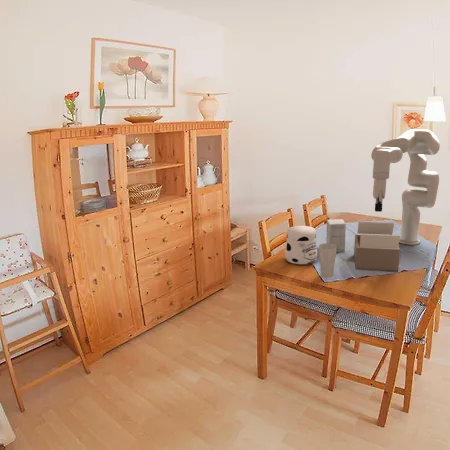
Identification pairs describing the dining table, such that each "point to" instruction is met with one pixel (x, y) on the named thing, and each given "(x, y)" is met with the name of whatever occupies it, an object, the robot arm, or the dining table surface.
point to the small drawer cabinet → (336, 233)
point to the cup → (327, 259)
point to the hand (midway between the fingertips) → (378, 211)
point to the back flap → (375, 228)
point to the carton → (375, 258)
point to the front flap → (379, 241)
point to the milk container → (301, 245)
